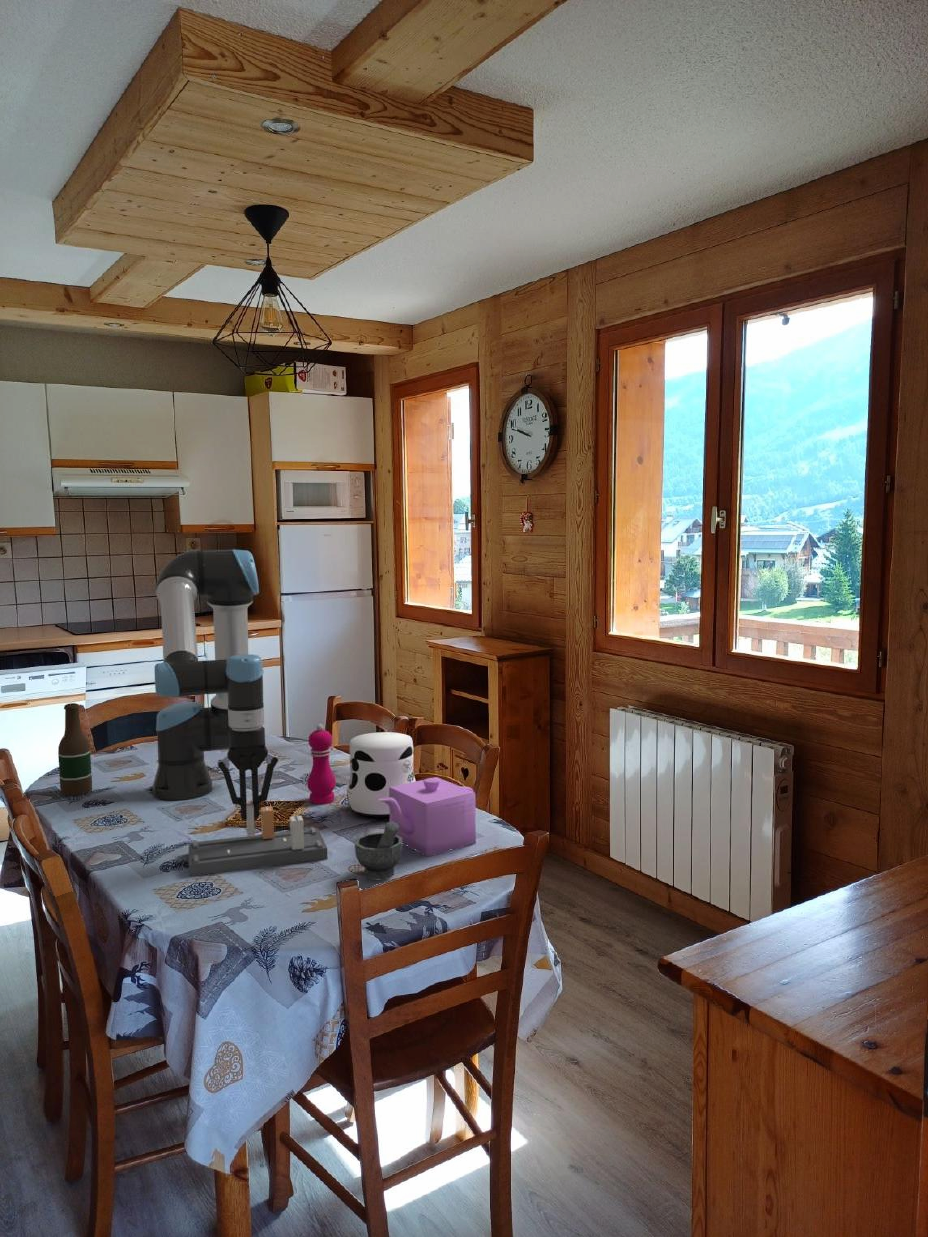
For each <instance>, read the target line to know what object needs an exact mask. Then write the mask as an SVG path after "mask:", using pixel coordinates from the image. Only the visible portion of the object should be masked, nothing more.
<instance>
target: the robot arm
mask: <svg viewBox="0 0 928 1237" xmlns="http://www.w3.org/2000/svg"><path fill="white" fill-rule="evenodd" d="M259 593H260V589H259V579H258V574H257V568H256V563H255V560H254V556H253V554H252V553H251V552H250V551H249V550H247V549H245V550H244V549H243V550H242V549H234V548H232V549H213V550H212V549H211V550H189V551H185V552H182V553H180V554H178V555H176V556H175V557H173V558H172V559H171V560H170V561H168V563H166V565H165V566H164V567H163V568H162V570H161V571H160V573H159V575H158V577H157V580H156V585H155V594H156V598H157V600H158V602H159V603H160V612H161V634H162V635H161V636H162V659H163V660H162V661H163V662H158V663H156V664H155V665H154V668H153V669H154V690H155V694H156V695H157V696H158V697H160V698H164V697H165V698H178V697H189V696H200V695H201V696H203V695H214V696H213V697H212V698H211V699H210V706H207V707H203V705H202V703H201V702H200V701H193V702H192V701H187V702H182V703H177V704H174V705H170V706H167V707H164V708H163V709H161V710H159V711H158V712H157V715H156V727H155V731H156V736H157V737H156V738H157V739H156V740H157V758H158V759H157V760H158V761H157V762H158V765H157V770H156V773H155V777H154V780H153V783H152V796H153V797H154V798H156V799H160V800H164V801H166V800H168V801H178V800H182V801H183V800H188V799H194V798H198V797H202V796H204V795H207V794H209V793H210V792H212V790H213V780H212V778H211V775H210V772H209V770H208V768H207V765H206V764H207V763H206V762H205V752H213V751H214V752H215V751H223V750H224V751H226V750H228V751H227V754H226V756H225V757H224V758H222V759H218V761H217V767H218V768H219V770H220V771H221V772H222V774H223V776H224V780H225V783H226V786H227V790H228V792H229V796H230V800H231V802H232V804H233V805H238V806H239V807H240V819H241V820H242V821H246V836H253V835H256V834H255V819H256V820H258V819H259V818H260V804H261V803H262V802H266V801H267V800H268V796H269V792H270V791H269V790H270V789H271V788H270V787H271V782H272V777H273V774H274V770H275V769H274V768H275V767H276V765H277V763H278V762H279V758H278V756H277V755H276V754H272V753H269V750H268V748H267V747H266V732H265V731H266V730H265V729H266V728H265V727H264V725H265V705H264V703H265V702H264V677H263V676H264V668H263V660H262V657H260V655H256V654H249V624H248V622H249V621H248V617H249V616H248V608H249V607H250V606H251V605H252V604H253V603H254V596H257V595H259ZM197 597H206V603H207V604H208V606H210V607H211V608H212V610H213V611H212V612H213V613H212V614H213V640H214V642H213V643H214V660H213V659H211V660H199V654H198V652H199V651H198V642H197V641H198V640H197V628H196V616H195V604H194V602H195V600H196V598H197ZM265 759H266V764H267V765H266V769H265V773H264V777H263V778H264V779H263V782H262V788H261V792H259V770H258V768H260V767H261V765H262V764H263V762H264V760H265ZM230 762H231V763H232V764H233V766H234V767H235V768H236V769H237V770H238V775H239V777H238V780H239V796H237V792H236V789H235V786H234V783H233V780H232V775H231V772H230V770H229V768H230V766H231V764H230ZM249 770H250V771H251V772H250V773H251V777H250V778H251V797H252V798H251V799H252V802H247V782H246V781H247V779H246V778H247V776H246V775H247V774H246V772H247V771H249ZM259 793H260V794H259Z"/></svg>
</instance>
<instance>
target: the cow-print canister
mask: <svg viewBox="0 0 928 1237" xmlns="http://www.w3.org/2000/svg"><path fill="white" fill-rule="evenodd" d="M349 770H350V771H349V773H350V774H349V780H348V782H347V783H348V784H347V789H346V796H347V803H348V805H349V808H350V810H352V811H353V812H355V813H356V814H358V815H360V816H361V815H362V816H366V817H372V818H373V817H374V818H386V817H390V810H389V806H388V805H387V804H386V803H385V802H382V801H379V799H381V798H386V797H389V788H390V787H393V786H398V785H402V784H407V783H411V782H416V781H417V780H416V778H415V773H414V772H415V771H414V743H413V738H412V737H411V736H410V735H407V734H405V733H400V732H389V731H387V732H384V731H383V732H382V731H381V732H369V733H363V734H360V735H356V736H354V737H352V738H351V739H350V741H349Z"/></svg>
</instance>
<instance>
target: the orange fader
mask: <svg viewBox="0 0 928 1237" xmlns="http://www.w3.org/2000/svg"><path fill="white" fill-rule="evenodd" d="M273 808H274V807H273V806H272V805H271V806H269V805H268V806H263V807H260V821H261V824H260V825H261V834H262V837H263V839H270V838H274V833H275V820H274V809H273Z"/></svg>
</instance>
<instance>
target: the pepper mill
mask: <svg viewBox="0 0 928 1237" xmlns="http://www.w3.org/2000/svg"><path fill="white" fill-rule="evenodd" d="M308 744H309V747H310V748H311V749H310V755H311V757H312V767H311V771H310V773H309V775H308V779H307V783H306V784H307V789H308V791H309V792H311V793H309V801H310V803H311V804H314V805H326V804H330V803H333V802H334V801H335V792H334V789H336V785H337V783H336V778H335V774H334V773H333V770H332V768H331V766H330V755H331V754H332V753H331V748H330V747H331V745H332V744H333V736H332V734H331V732H329V731H327V730H325V729H324V725H323V724H321V723H320V724H319V723H318V724H317V725H316V730H314V731H312V732H311V733H310V734H309V736H308Z"/></svg>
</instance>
